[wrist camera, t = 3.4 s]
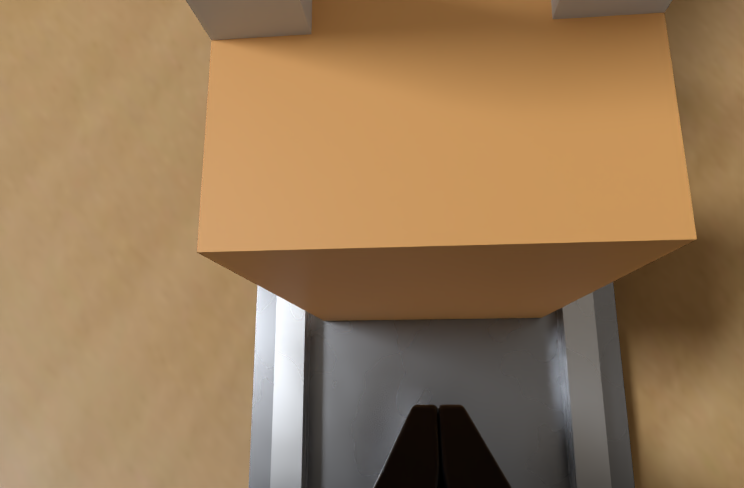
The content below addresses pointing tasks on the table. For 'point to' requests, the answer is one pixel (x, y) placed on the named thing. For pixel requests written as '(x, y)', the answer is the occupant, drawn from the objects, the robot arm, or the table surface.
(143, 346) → the table surface
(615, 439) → the grey stand with block
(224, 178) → the orange padlock
